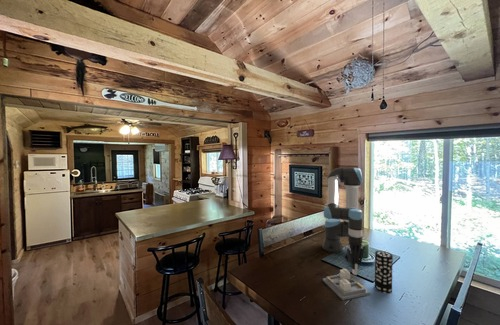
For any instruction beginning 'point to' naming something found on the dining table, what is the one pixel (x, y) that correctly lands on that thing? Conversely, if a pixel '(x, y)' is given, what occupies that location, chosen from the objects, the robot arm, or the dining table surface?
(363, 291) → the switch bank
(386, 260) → the spotted tube
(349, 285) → the tab
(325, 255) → the dining table surface
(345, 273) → the tab
